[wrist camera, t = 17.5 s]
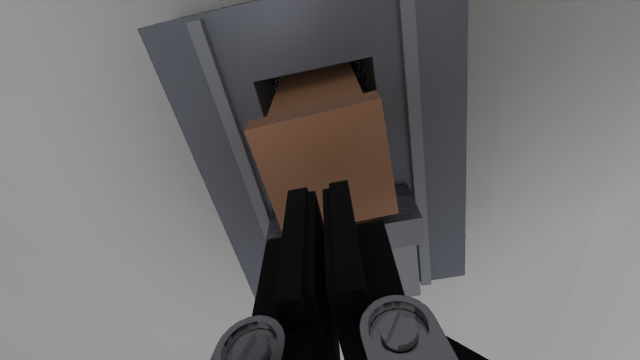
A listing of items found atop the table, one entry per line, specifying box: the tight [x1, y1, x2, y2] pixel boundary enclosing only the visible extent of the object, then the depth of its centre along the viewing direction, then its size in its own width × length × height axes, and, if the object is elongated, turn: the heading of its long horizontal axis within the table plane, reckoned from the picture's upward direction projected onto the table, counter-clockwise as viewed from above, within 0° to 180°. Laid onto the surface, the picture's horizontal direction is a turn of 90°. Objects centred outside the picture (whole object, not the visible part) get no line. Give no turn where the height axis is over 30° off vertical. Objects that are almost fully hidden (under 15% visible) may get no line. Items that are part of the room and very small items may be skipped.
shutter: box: [265, 185, 425, 297], centre depth 19 cm, size 8×8×3 cm
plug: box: [244, 62, 399, 230], centre depth 17 cm, size 5×5×10 cm
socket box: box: [138, 0, 468, 298], centre depth 20 cm, size 14×18×6 cm
